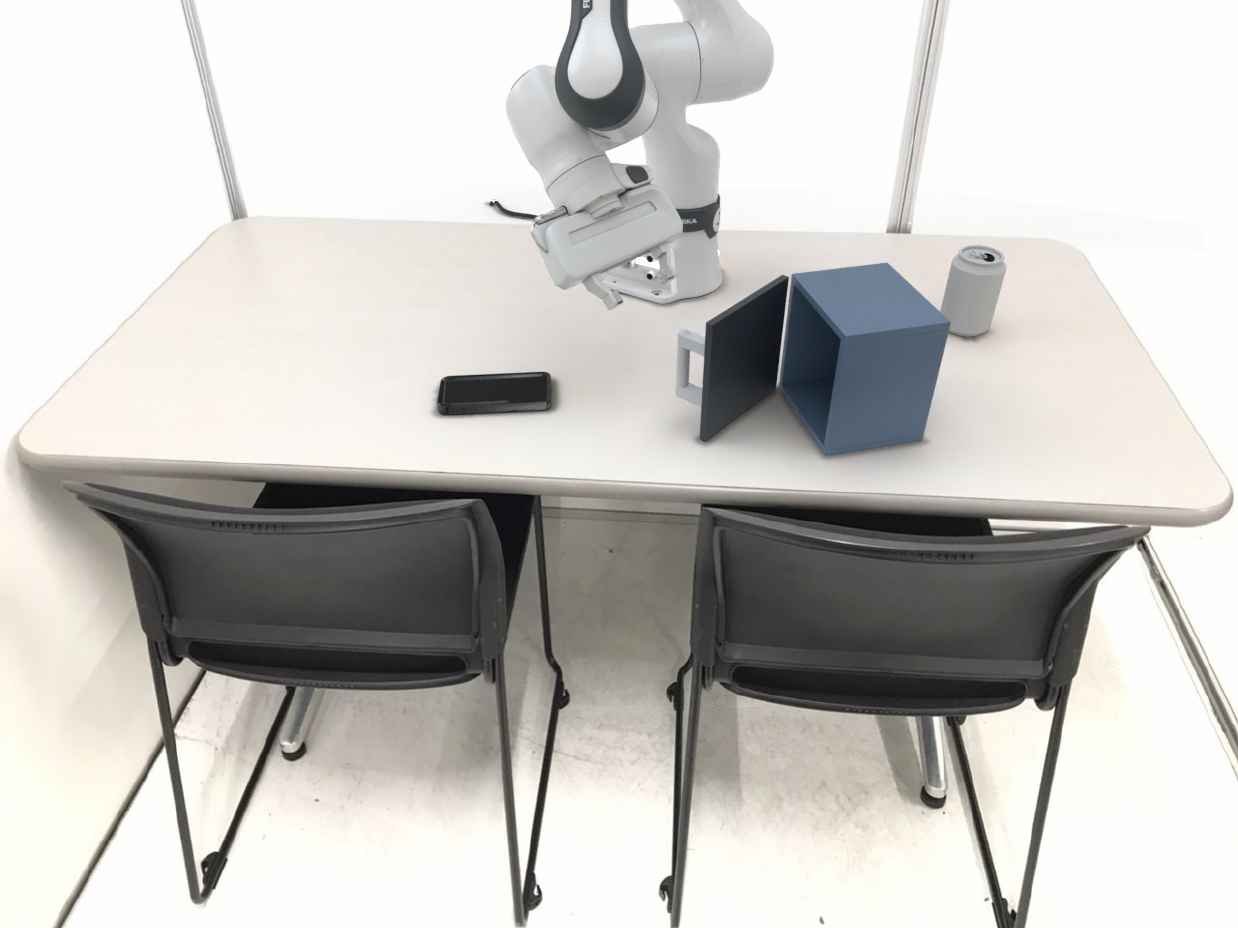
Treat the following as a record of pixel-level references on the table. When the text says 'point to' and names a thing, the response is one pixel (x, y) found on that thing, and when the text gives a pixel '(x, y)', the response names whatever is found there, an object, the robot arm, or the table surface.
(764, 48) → the robot arm
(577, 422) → the table surface
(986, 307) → the can
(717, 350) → the cabinet door
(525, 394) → the phone
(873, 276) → the blue cabinet body
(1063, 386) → the table surface
